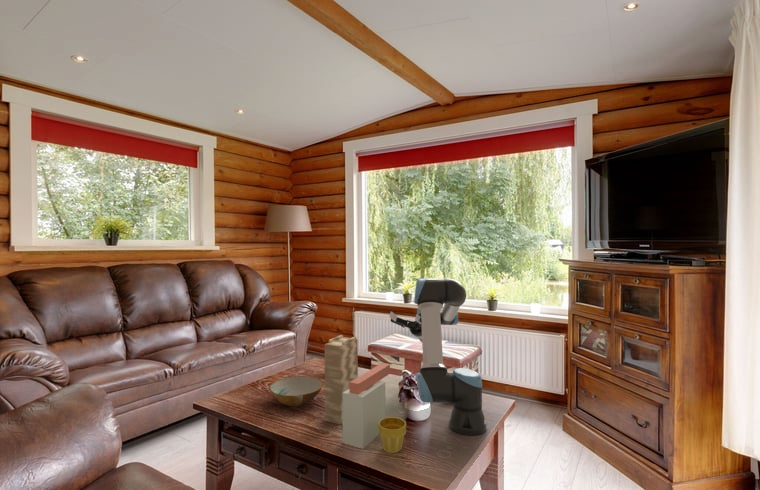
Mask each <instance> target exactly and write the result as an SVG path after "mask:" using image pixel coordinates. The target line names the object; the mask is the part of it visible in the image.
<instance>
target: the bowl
mask: <svg viewBox="0 0 760 490" xmlns="http://www.w3.org/2000/svg"><path fill="white" fill-rule="evenodd" d="M323 383H324V382H323V381H322V380H321V379H319V378H315V377H312V376H300V375H299V376H291V377H285V378H281V379H278V380H276V381H274V382H273V383H271V385H269V387H268V388H269V391H270V393H271V395H272V396H273V398H275V400H276V401H278V402H279V403H281V404H283V405H286V406H288V407H302V406H304V405H306V404H308V403H310V402H311V401H313V400H314V399H315V398H316V397H318V395H319V393H320V391H321V390H322V388H323V386H324V384H323Z"/></svg>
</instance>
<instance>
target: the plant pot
mask: <svg viewBox="0 0 760 490" xmlns="http://www.w3.org/2000/svg"><path fill="white" fill-rule="evenodd" d="M406 433H407V422H406V421H405V420H404V418H403V419H402V418H401V417H396V416H387V417H385V418H383V419H381V420H380V421H379V435H380V438H381V443H382V447H383V450H384V451H385V453H389V454H397V453H399V452H400V451H401V450H402V447H403V441H404V437H405V435H406Z"/></svg>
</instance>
